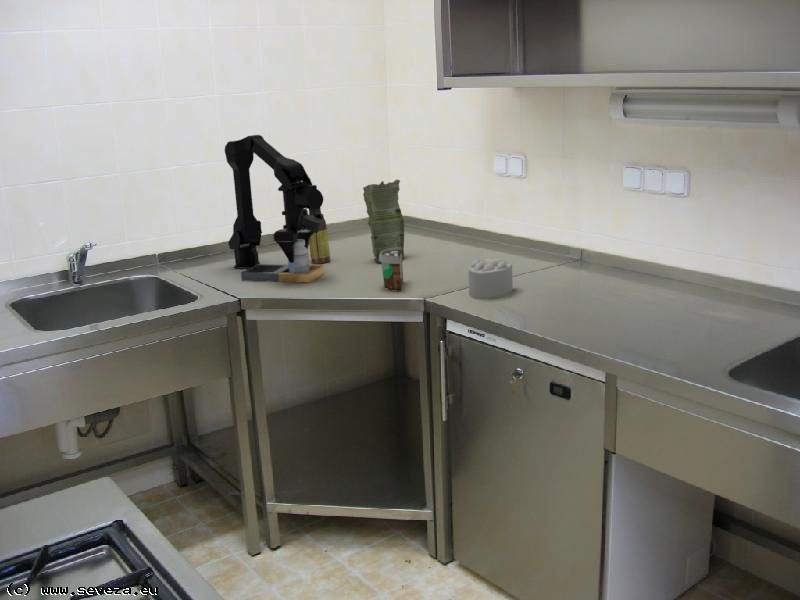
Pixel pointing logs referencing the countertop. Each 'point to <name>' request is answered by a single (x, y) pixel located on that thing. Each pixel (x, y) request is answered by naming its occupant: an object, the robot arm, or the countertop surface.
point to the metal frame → (280, 273)
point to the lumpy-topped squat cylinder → (490, 278)
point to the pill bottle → (300, 258)
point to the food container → (392, 268)
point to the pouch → (384, 216)
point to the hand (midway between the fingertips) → (298, 259)
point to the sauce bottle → (319, 243)
